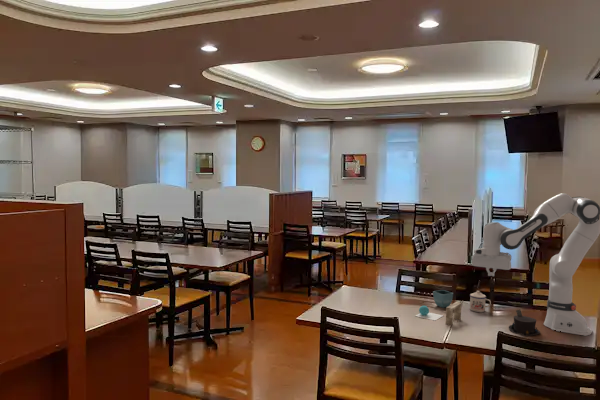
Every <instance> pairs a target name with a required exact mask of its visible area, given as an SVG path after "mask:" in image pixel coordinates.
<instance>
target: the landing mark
mask: <svg viewBox="0 0 600 400" xmlns="http://www.w3.org/2000/svg"><path fill="white" fill-rule="evenodd" d="M414 317H418V318H421V319H426V320H430V321H433V322H434V321H435V322H436V321H437V320H439V319H441V318H443V317H444V315H443V314H437V313H434V312H430V311H429V313H428V314H427V315H421V314H420V312H419V313H418V314H416V315H414Z"/></svg>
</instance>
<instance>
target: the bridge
mask: <svg viewBox="0 0 600 400" xmlns="http://www.w3.org/2000/svg"><path fill="white" fill-rule="evenodd" d="M445 311H446V312H445V325H448V326H452V325H453V320H459V321H460V320H461V317H462V302H457V301H456V302H454V303H451V304H450V305H449V306H448V307H445Z"/></svg>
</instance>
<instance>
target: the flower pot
mask: <svg viewBox="0 0 600 400" xmlns="http://www.w3.org/2000/svg"><path fill="white" fill-rule="evenodd" d="M432 294H433V300H434V303H435V304H436V306H438V307H440V308H442V309H444V308H446V307H448V306H450V305H452V302H453V297H454V292H451V291H448V290H445V289H439V290H434V291H432Z"/></svg>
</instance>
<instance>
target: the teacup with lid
mask: <svg viewBox="0 0 600 400" xmlns="http://www.w3.org/2000/svg"><path fill="white" fill-rule="evenodd" d="M469 297H470V299H469V310H470V311H472V312H476V313H483V312H485V311H486V308H489V307H491V305H492V301H491V299H488V298H487V296H486V295H485V294H483V293H482V292H481V290H476V291H475V292H473V293H470V294H469ZM486 301H488V302H489V304H488V305H486Z"/></svg>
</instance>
